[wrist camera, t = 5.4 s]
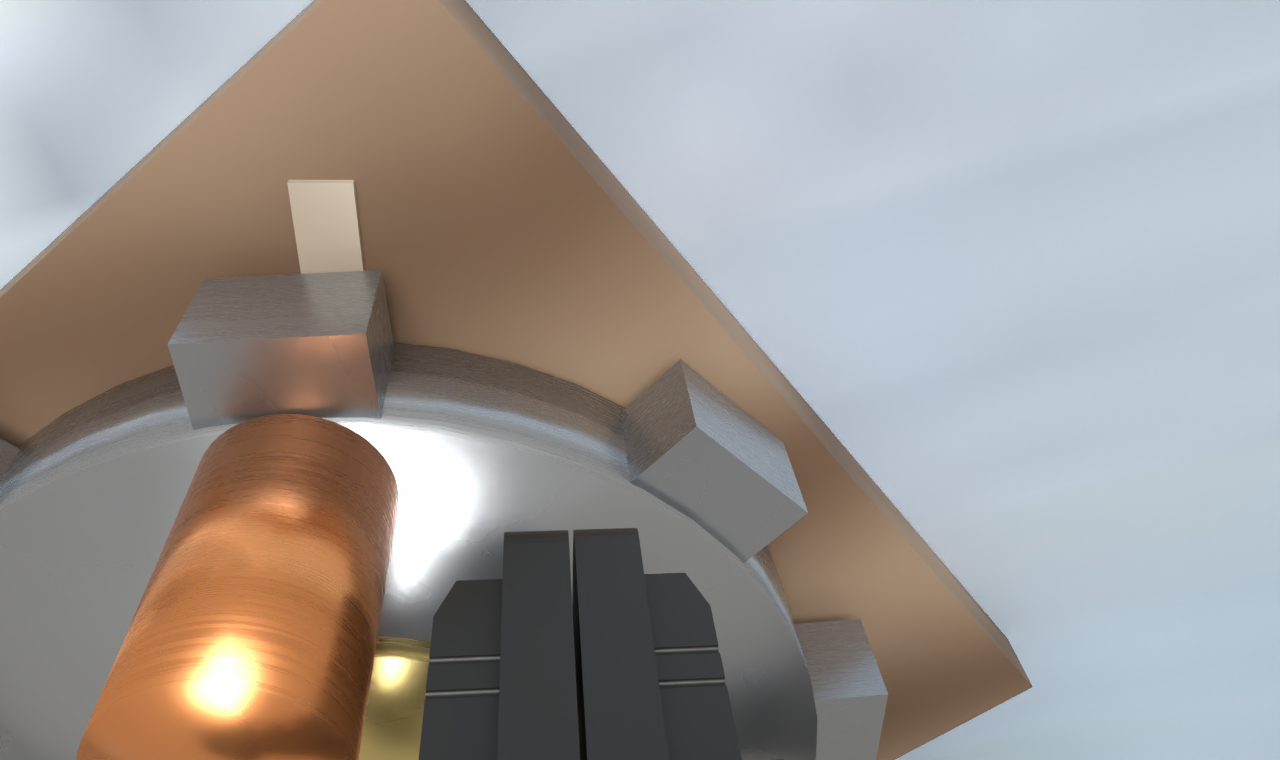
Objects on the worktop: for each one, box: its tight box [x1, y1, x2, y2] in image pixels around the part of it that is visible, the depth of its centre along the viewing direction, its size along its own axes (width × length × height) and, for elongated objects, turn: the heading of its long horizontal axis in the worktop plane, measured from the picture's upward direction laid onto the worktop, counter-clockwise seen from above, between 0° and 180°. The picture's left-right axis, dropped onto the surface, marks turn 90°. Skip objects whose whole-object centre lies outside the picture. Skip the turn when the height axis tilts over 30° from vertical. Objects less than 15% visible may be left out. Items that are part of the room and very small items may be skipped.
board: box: [0, 0, 1032, 760], centre depth 18 cm, size 17×17×1 cm
